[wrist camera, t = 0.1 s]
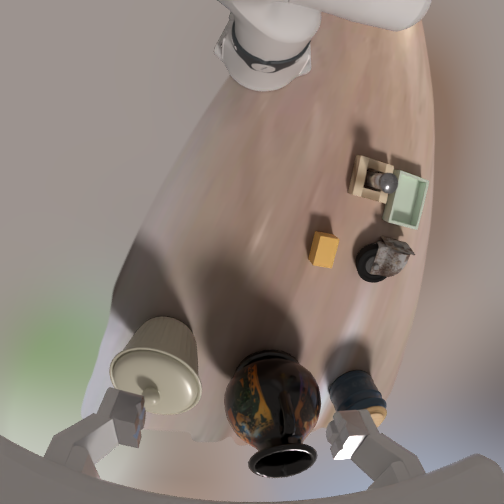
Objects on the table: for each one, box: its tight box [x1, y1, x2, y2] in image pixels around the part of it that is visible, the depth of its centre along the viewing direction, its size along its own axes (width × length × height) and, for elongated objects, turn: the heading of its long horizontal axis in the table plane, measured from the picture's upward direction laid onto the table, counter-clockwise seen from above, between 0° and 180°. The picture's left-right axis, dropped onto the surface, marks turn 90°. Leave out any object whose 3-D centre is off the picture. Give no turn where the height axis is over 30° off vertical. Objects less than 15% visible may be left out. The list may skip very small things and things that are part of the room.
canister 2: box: [330, 370, 387, 427], centre depth 65 cm, size 13×13×18 cm
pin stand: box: [348, 155, 394, 204], centre depth 55 cm, size 8×8×2 cm
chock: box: [308, 231, 339, 268], centre depth 58 cm, size 6×4×4 cm, turn 169°
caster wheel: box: [356, 236, 415, 283], centre depth 59 cm, size 7×11×10 cm
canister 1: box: [109, 316, 202, 415], centre depth 54 cm, size 18×18×21 cm
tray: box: [382, 169, 429, 230], centre depth 56 cm, size 11×8×3 cm
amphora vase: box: [224, 350, 321, 478], centre depth 56 cm, size 22×22×28 cm
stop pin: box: [364, 172, 398, 194], centre depth 52 cm, size 4×4×9 cm
